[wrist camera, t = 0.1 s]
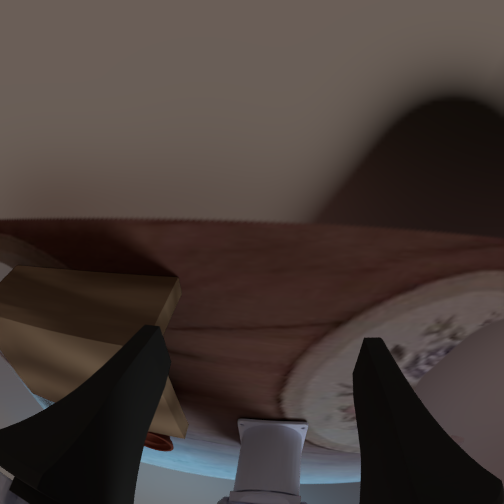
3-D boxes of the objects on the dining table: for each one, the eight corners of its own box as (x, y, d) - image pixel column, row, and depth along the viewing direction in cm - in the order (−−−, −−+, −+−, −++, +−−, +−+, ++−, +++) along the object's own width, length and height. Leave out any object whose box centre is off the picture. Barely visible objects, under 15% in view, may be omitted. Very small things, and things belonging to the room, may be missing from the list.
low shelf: (201, 377, 28) (184, 438, 22) (59, 349, 31) (32, 393, 25) (178, 277, 22) (143, 349, 16) (17, 264, 24) (-25, 308, 18)
